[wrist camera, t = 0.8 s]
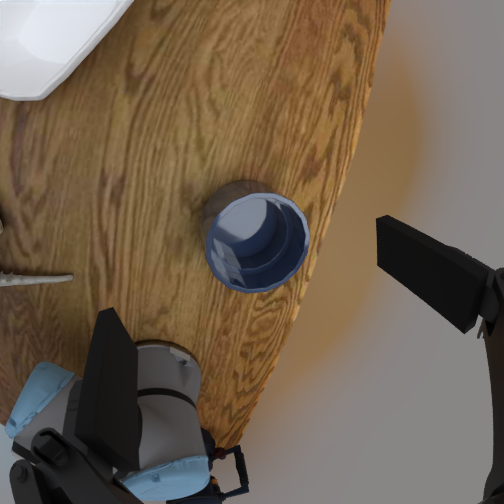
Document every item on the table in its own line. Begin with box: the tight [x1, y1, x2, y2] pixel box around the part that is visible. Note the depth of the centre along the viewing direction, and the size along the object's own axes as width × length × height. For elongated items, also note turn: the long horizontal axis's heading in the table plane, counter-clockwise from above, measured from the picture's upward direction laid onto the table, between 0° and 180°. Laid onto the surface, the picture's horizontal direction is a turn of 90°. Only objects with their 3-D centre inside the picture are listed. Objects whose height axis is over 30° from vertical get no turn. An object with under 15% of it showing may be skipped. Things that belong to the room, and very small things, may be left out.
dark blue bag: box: [166, 429, 249, 504], centre depth 48 cm, size 15×21×20 cm
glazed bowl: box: [199, 181, 310, 293], centre depth 37 cm, size 12×12×8 cm
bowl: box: [0, 0, 134, 101], centre depth 17 cm, size 22×22×12 cm
